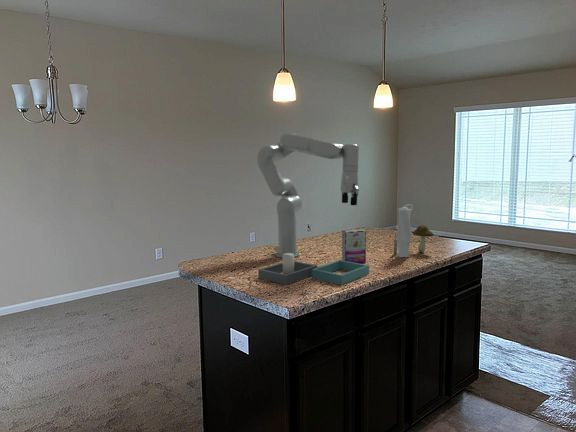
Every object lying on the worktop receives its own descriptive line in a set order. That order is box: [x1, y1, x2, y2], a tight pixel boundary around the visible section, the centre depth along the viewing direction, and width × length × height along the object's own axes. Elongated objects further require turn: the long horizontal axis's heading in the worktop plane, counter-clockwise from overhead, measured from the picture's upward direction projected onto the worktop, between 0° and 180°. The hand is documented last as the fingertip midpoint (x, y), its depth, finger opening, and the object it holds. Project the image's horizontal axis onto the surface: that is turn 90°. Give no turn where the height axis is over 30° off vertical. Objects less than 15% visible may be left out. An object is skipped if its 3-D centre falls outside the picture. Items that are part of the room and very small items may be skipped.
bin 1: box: [257, 260, 318, 286], centre depth 205 cm, size 16×22×4 cm
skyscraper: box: [392, 203, 414, 259], centre depth 241 cm, size 8×8×28 cm
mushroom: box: [412, 224, 434, 253], centre depth 250 cm, size 9×11×15 cm
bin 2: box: [311, 259, 370, 286], centre depth 205 cm, size 16×22×4 cm
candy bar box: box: [341, 228, 367, 264], centre depth 229 cm, size 11×5×16 cm, turn 105°
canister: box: [282, 253, 295, 275], centre depth 205 cm, size 5×5×10 cm
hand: (349, 203), depth 228 cm, fingers open, 9 cm apart
